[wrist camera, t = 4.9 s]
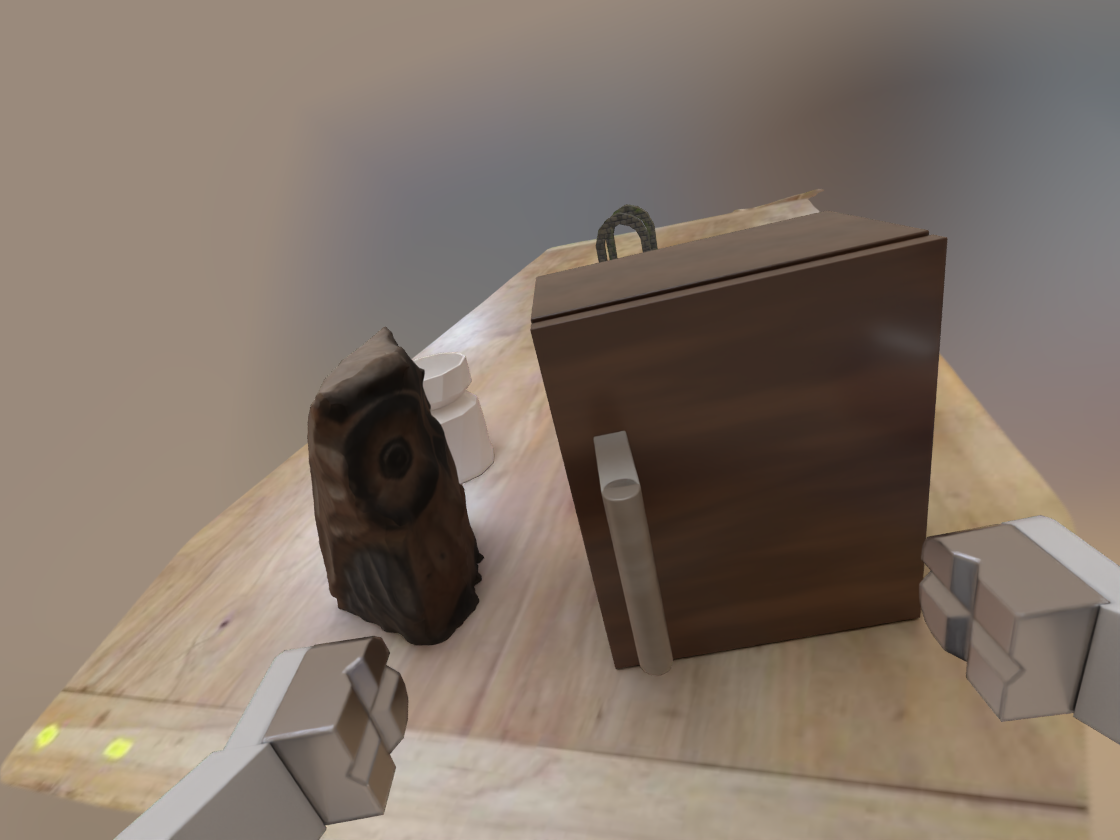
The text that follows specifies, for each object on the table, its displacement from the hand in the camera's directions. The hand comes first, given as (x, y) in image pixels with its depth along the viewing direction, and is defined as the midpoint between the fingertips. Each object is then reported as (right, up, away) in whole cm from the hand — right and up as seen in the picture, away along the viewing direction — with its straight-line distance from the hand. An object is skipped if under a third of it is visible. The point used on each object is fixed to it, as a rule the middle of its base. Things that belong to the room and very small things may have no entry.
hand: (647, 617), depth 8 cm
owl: (-13, -11, +37) cm, 41 cm away
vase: (-13, -2, +54) cm, 56 cm away
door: (+11, -11, +23) cm, 28 cm away
